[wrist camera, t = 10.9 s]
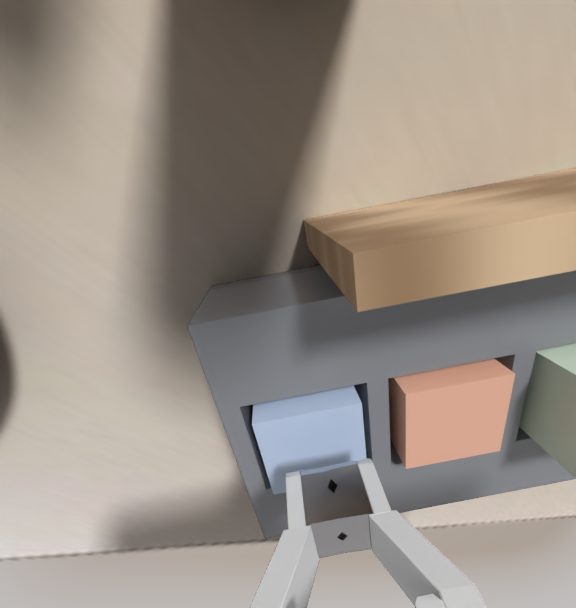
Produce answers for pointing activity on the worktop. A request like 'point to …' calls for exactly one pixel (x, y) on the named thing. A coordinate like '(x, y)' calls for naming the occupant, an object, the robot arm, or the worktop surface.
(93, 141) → the worktop surface
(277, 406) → the key blue
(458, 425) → the key terracotta
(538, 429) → the key sage
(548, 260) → the placard
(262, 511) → the grey slotted block
